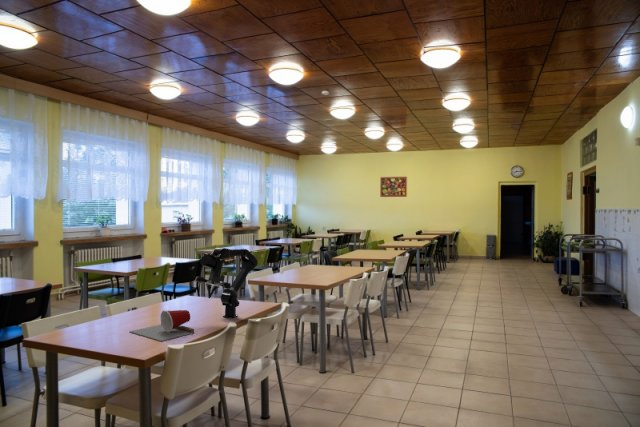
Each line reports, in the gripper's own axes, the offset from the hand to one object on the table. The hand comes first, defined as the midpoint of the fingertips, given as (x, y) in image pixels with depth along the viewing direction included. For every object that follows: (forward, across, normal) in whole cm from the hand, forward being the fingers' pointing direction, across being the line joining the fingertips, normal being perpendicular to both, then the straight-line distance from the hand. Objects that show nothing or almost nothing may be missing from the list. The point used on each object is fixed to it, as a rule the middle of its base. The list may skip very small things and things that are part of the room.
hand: (209, 298), depth 239 cm
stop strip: (+18, -13, -8) cm, 24 cm away
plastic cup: (+11, -10, -10) cm, 18 cm away
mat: (+21, -20, -12) cm, 32 cm away
